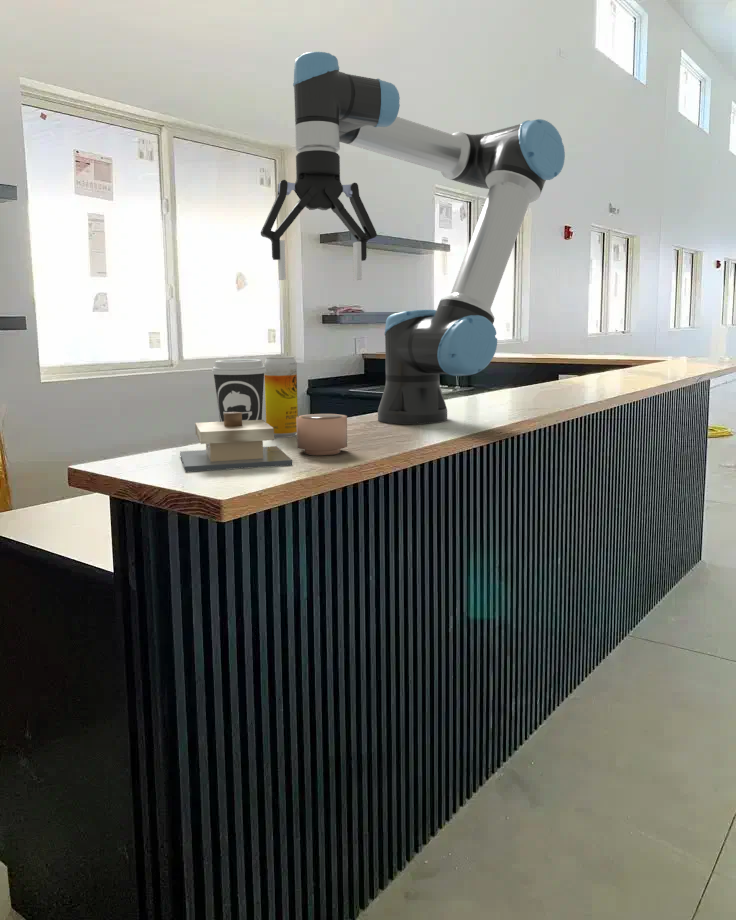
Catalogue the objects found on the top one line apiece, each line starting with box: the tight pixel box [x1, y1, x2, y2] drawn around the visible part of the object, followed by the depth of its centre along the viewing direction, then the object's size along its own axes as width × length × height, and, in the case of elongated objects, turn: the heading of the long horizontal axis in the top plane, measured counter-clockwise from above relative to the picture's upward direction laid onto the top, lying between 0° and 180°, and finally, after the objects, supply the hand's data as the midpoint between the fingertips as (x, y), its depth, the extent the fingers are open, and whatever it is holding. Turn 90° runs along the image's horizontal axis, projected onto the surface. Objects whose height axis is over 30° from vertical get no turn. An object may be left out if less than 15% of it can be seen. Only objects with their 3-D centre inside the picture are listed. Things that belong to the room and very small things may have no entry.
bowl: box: [296, 413, 348, 456], centre depth 131 cm, size 8×8×6 cm
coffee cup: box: [210, 358, 267, 422], centre depth 137 cm, size 10×10×15 cm
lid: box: [194, 412, 275, 445], centre depth 123 cm, size 11×11×4 cm
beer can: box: [263, 355, 299, 439], centre depth 149 cm, size 6×6×15 cm
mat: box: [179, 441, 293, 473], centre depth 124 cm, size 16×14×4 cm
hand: (320, 280), depth 138 cm, fingers open, 13 cm apart
